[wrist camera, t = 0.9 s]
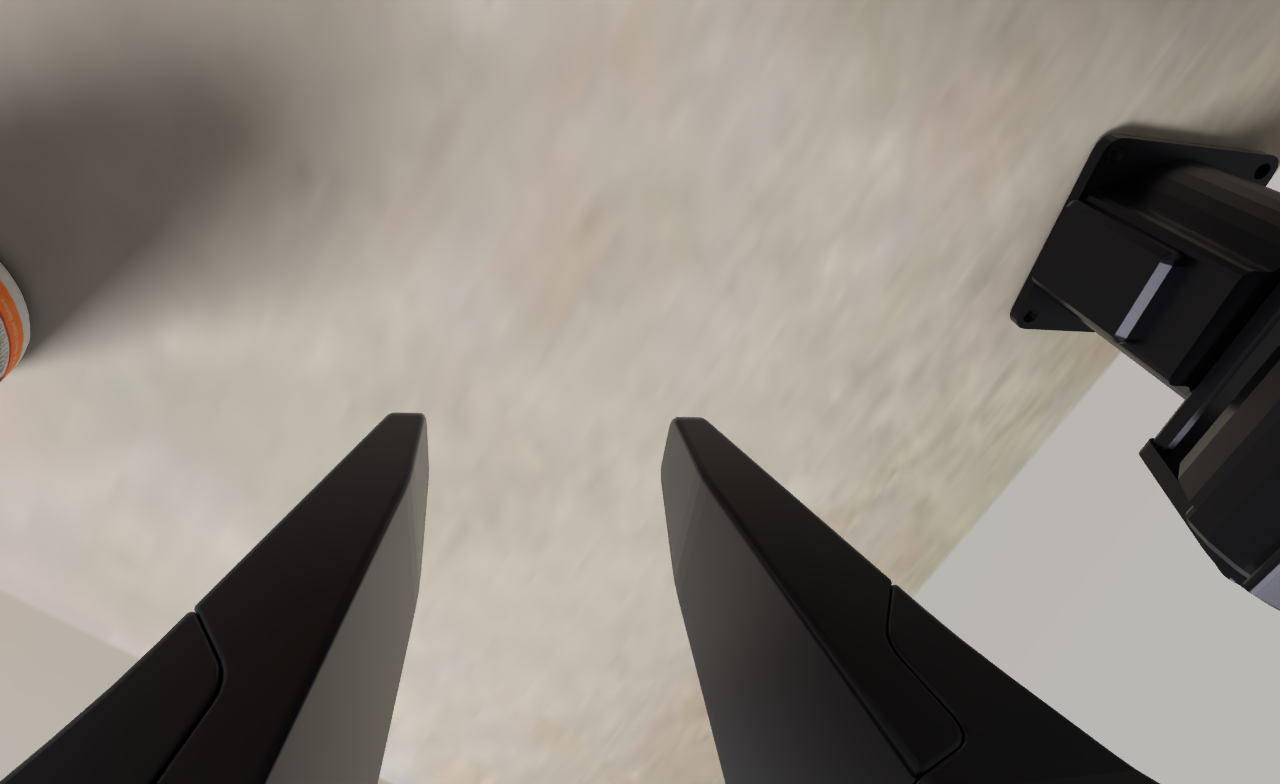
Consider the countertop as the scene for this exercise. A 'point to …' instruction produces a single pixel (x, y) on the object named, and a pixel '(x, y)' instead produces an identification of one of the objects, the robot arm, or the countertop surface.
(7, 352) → the pill bottle
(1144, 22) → the countertop surface
